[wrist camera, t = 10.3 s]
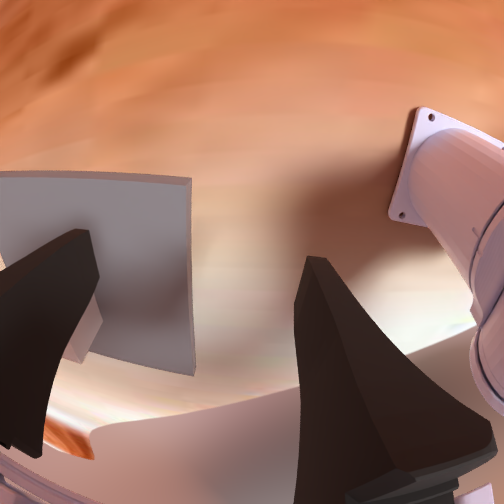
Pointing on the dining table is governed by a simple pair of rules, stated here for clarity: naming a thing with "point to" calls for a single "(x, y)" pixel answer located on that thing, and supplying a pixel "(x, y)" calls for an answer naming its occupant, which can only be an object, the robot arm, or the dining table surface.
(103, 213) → the lid
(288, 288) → the dining table surface
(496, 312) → the robot arm
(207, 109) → the dining table surface
